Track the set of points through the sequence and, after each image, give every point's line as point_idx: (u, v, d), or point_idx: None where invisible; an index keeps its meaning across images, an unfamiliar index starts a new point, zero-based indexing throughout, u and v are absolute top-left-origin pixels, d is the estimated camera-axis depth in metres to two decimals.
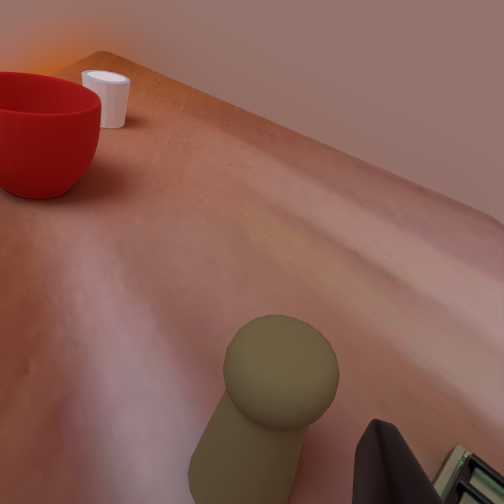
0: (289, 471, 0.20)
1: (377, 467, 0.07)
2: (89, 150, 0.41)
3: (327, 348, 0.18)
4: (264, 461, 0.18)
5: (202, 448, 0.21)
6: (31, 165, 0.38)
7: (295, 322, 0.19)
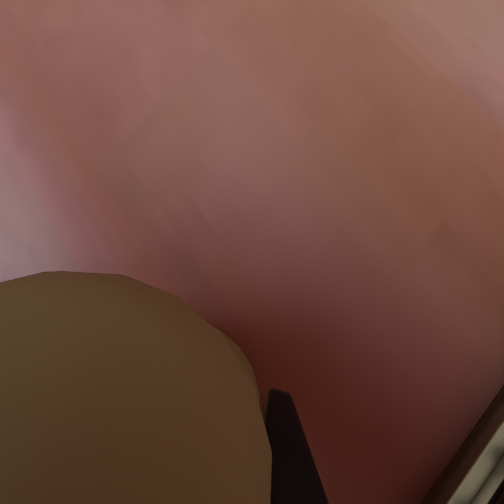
0: None
1: None
2: None
3: (192, 488, 0.04)
4: None
5: None
6: None
7: (59, 349, 0.04)
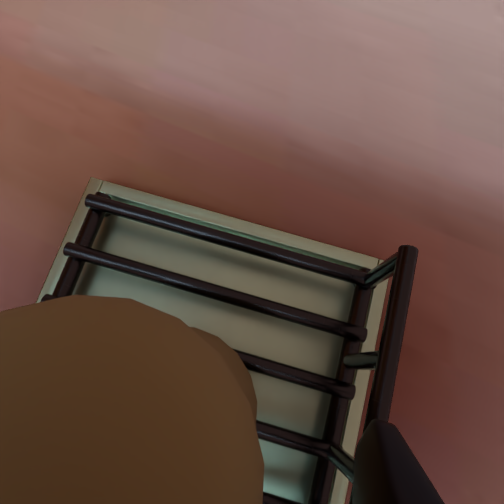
0: None
1: (377, 467, 0.07)
2: None
3: (192, 498, 0.04)
4: None
5: None
6: None
7: (76, 371, 0.05)
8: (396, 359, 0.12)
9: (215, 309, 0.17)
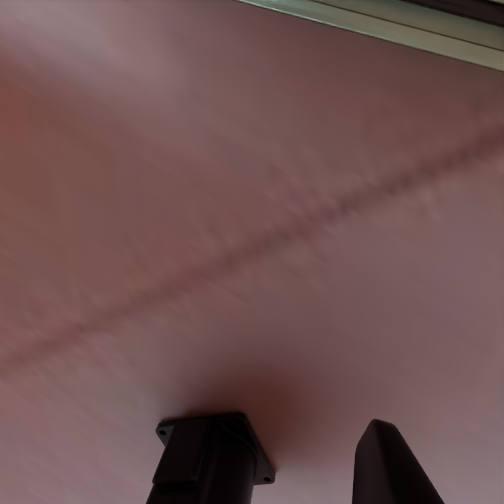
0: None
1: (377, 467, 0.07)
2: None
3: None
4: None
5: None
6: None
7: None
8: None
9: None
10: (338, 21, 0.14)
